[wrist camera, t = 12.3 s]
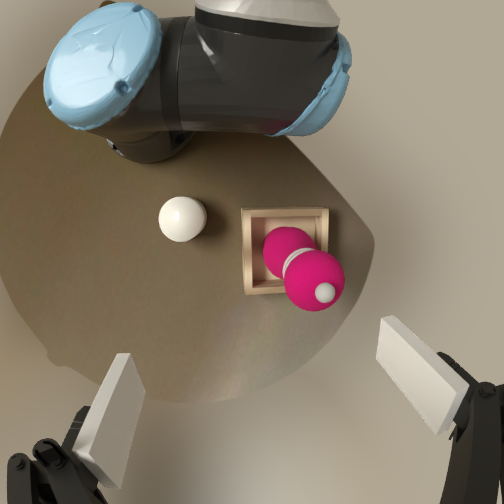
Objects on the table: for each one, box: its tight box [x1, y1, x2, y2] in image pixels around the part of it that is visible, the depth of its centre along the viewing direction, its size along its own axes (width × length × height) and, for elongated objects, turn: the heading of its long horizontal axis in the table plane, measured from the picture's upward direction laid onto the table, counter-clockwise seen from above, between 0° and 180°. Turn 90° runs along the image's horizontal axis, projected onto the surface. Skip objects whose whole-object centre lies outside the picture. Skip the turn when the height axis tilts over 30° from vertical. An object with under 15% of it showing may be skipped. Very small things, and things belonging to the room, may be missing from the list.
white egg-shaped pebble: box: [159, 197, 207, 242], centre depth 39 cm, size 6×6×4 cm
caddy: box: [241, 207, 329, 295], centre depth 41 cm, size 12×12×4 cm
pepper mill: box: [263, 226, 345, 311], centre depth 33 cm, size 7×7×20 cm
